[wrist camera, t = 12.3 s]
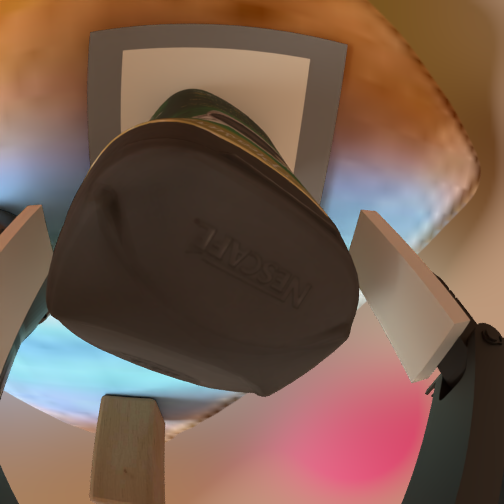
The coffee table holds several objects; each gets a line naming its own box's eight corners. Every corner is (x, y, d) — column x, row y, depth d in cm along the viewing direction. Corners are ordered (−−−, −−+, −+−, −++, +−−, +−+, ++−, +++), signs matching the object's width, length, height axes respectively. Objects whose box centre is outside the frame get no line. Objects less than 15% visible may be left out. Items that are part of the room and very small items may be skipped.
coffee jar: (129, 157, 22) (6, 344, 7) (184, 73, 19) (82, 78, 4) (227, 216, 26) (254, 432, 11) (286, 143, 23) (423, 312, 8)
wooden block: (156, 396, 44) (153, 511, 27) (166, 421, 49) (166, 517, 33) (100, 392, 42) (86, 500, 26) (116, 417, 48) (109, 510, 31)
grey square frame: (105, 245, 28) (101, 254, 26) (95, 33, 17) (88, 32, 15) (305, 249, 31) (309, 257, 29) (341, 45, 20) (349, 44, 19)
